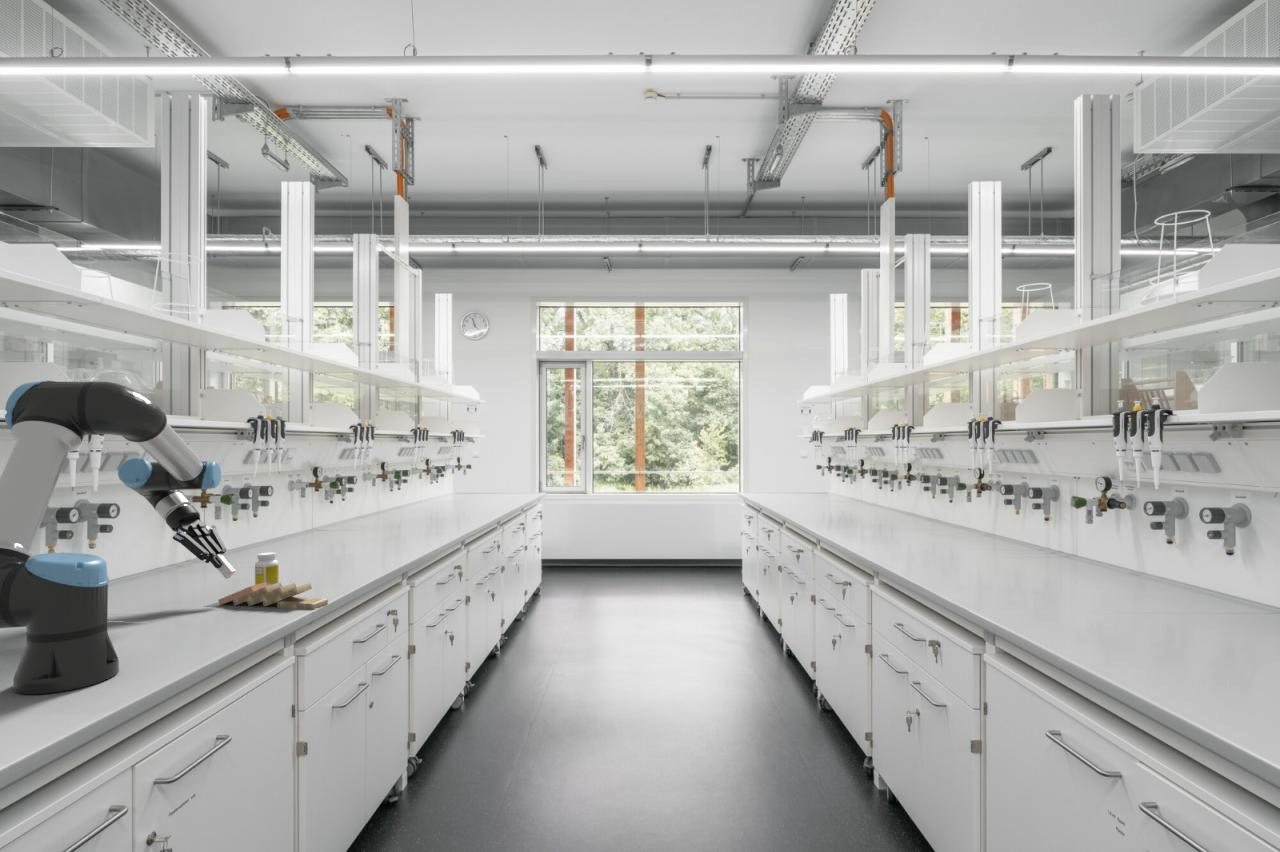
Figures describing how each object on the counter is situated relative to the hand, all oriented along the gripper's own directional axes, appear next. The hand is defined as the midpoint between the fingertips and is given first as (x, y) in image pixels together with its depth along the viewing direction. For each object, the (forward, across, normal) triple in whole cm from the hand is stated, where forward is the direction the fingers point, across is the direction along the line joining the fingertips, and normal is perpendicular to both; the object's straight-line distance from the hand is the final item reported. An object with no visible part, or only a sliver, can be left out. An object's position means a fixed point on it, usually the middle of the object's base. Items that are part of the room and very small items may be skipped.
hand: (230, 574), depth 187 cm
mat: (+10, 0, -1) cm, 10 cm away
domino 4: (+14, 0, +4) cm, 14 cm away
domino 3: (+10, 0, 0) cm, 10 cm away
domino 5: (+17, 0, +7) cm, 18 cm away
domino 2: (+7, 0, -3) cm, 8 cm away
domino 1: (+4, 0, -6) cm, 7 cm away
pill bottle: (+4, -16, -7) cm, 18 cm away
